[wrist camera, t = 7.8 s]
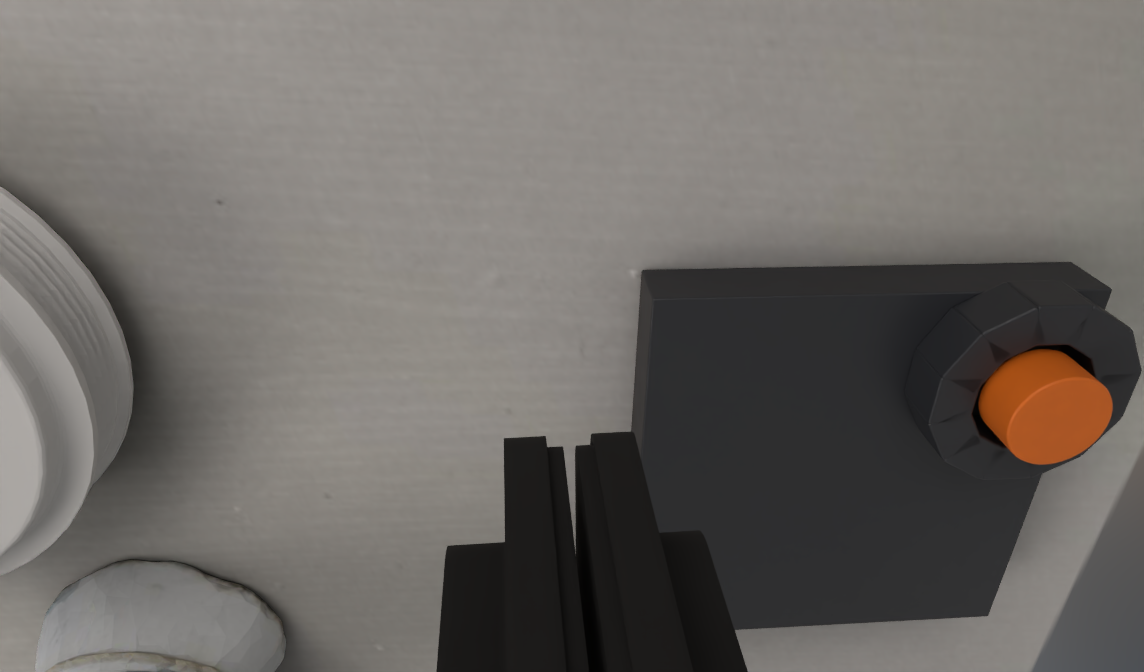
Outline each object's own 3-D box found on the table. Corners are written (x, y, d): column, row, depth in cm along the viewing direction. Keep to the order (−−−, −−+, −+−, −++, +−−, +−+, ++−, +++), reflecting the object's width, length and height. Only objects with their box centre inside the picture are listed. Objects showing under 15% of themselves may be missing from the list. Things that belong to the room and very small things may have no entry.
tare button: (992, 348, 22) (1025, 379, 20) (1091, 346, 22) (1129, 376, 21) (965, 433, 23) (995, 467, 22) (1059, 430, 23) (1093, 463, 22)
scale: (641, 257, 23) (664, 315, 20) (1086, 250, 24) (1171, 304, 21) (620, 594, 30) (634, 675, 26) (970, 576, 31) (1023, 653, 28)
